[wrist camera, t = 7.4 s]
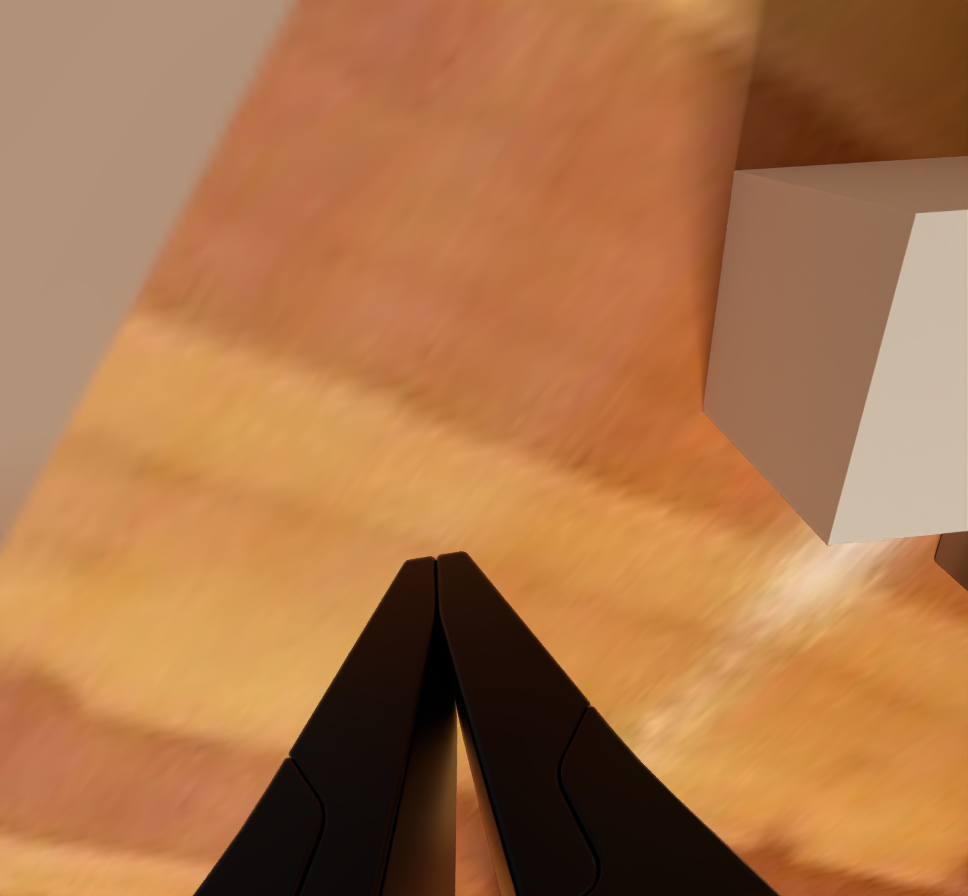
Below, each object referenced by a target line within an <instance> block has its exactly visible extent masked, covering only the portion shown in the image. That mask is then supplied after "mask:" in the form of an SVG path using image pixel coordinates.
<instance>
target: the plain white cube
mask: <svg viewBox="0 0 968 896" xmlns="http://www.w3.org/2000/svg"><path fill="white" fill-rule="evenodd" d="M703 412H704V413H705V414H706V416H707V417H708V418H709V419H710V420H711V421H712V422H713V423H714V424H715V425H716V426H717V427H718V428H719V430H720V431H721V432H722V433H723V434H724V435H725V436H726V437H727V438H728V439H729V440H730V441H731V442H732V444H733V445H734V446H735V447H736V448H737V449H738V450H739V451H740V452H741V453H742V454H743V455H744V456H745V458H746V459H747V460H748V461H749V462H750V463H751V464H752V465H753V466H754V467H755V468H756V469H757V470H758V471H759V473H760V474H761V475H762V476H763V477H764V478H765V479H766V480H767V481H768V482H769V483H770V484H771V485H772V487H773V488H774V489H775V490H776V491H777V492H778V493H779V494H780V495H781V496H782V497H783V498H784V499H785V501H786V502H787V503H788V504H789V505H790V506H791V507H792V508H793V509H794V510H795V511H796V512H797V513H798V514H799V516H800V517H801V518H802V519H803V520H804V521H805V522H806V523H807V524H808V525H809V526H810V527H811V528H812V530H813V531H814V532H815V533H816V534H817V535H818V536H819V537H820V538H821V539H822V540H823V541H824V542H825V544H826V545H827V546H829V545H839V544H848V543H858V542H867V541H876V540H886V539H895V538H905V537H914V536H924V535H933V534H943V533H952V532H961V531H968V156H956V157H940V158H924V159H908V160H892V161H877V162H861V163H845V164H829V165H813V166H797V167H781V168H766V169H750V170H734V177H733V184H732V192H731V199H730V207H729V214H728V222H727V230H726V237H725V245H724V252H723V260H722V267H721V275H720V282H719V290H718V298H717V305H716V313H715V320H714V328H713V335H712V343H711V351H710V358H709V366H708V373H707V381H706V388H705V396H704V403H703Z"/></svg>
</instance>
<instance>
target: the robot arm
mask: <svg viewBox="0 0 968 896" xmlns="http://www.w3.org/2000/svg"><path fill="white" fill-rule="evenodd" d="M456 707H457V711H456ZM457 712H458V717H459V722H460V726H461V731H462V736H463V740H464V744H465V748H466V752H467V756H468V761H469V765H470V769H471V773H472V777H473V781H474V785H475V790H476V794H477V798H478V802H479V806H480V810H481V814H482V819H483V823H484V827H485V831H486V835H487V839H488V843H489V848H490V852H491V856H492V860H493V864H494V868H495V872H496V877H497V881H498V885H499V889H500V893H501V896H781V895H780V894H779V893H778V892H776V891H775V890H774V889H773V888H772V887H771V886H770V885H769V884H768V883H767V882H766V881H765V880H764V879H763V878H762V877H760V876H759V875H758V874H757V873H756V872H755V871H754V870H753V869H752V868H751V867H750V866H749V865H748V864H747V863H746V862H745V861H744V860H742V859H741V858H740V857H739V856H738V855H737V854H736V853H735V852H734V851H733V850H732V849H731V848H730V847H729V846H728V845H727V844H726V843H725V842H723V841H722V840H721V839H720V838H719V837H718V836H717V835H716V834H715V833H714V832H713V831H712V830H711V829H710V828H709V827H708V826H707V825H705V824H704V823H703V822H702V821H701V820H700V819H699V818H698V817H697V816H696V815H695V814H694V813H693V812H692V811H691V810H690V809H689V808H688V807H686V806H685V805H684V804H683V803H682V802H681V801H680V800H679V799H678V798H677V797H676V796H675V795H674V794H673V793H672V792H671V791H670V790H669V789H668V788H667V787H666V786H665V785H664V784H663V783H662V782H661V781H660V780H659V779H658V778H657V777H656V776H655V775H654V774H653V773H652V772H651V771H650V770H649V769H648V768H647V767H646V766H645V765H644V764H643V763H642V762H641V761H640V760H639V759H638V758H637V756H636V755H635V754H634V753H633V752H632V751H631V750H630V749H629V747H628V746H627V745H626V744H625V743H624V742H623V741H622V739H621V738H620V737H619V736H618V735H617V734H616V733H615V732H614V730H613V729H612V728H611V727H610V726H609V724H608V723H607V722H606V721H605V720H604V718H603V717H602V716H601V715H600V713H599V712H598V711H597V710H596V709H595V708H594V707H592V706H591V705H590V702H589V701H588V699H587V698H586V697H585V696H584V695H583V693H582V692H581V691H580V690H579V688H578V687H577V686H576V685H575V684H574V682H573V681H572V680H571V679H570V677H569V676H568V675H567V674H566V673H565V671H564V670H563V669H562V668H561V667H560V665H559V664H558V663H557V662H556V660H555V659H554V658H553V657H552V656H551V654H550V653H549V652H548V651H547V650H546V648H545V647H544V646H543V645H542V643H541V642H540V641H539V640H538V639H537V637H536V636H535V635H534V634H533V633H532V631H531V630H530V629H529V628H528V626H527V625H526V624H525V623H524V622H523V620H522V619H521V618H520V617H519V616H518V614H517V613H516V612H515V611H514V609H513V608H512V607H511V606H510V605H509V603H508V602H507V601H506V600H505V598H504V597H503V596H502V595H501V594H500V592H499V591H498V590H497V589H496V588H495V586H494V585H493V584H492V583H491V581H490V580H489V579H488V578H487V577H486V575H485V574H484V573H483V572H482V571H481V569H480V568H479V567H478V566H477V564H476V563H475V562H474V561H473V560H472V558H471V557H470V556H469V555H468V554H467V553H466V552H464V551H460V552H454V553H448V554H441V555H439V556H438V557H437V559H435V558H434V557H432V556H429V557H422V558H416V559H410V560H407V561H406V562H404V564H403V565H402V567H401V569H400V570H399V572H398V574H397V575H396V577H395V579H394V580H393V582H392V584H391V585H390V587H389V589H388V590H387V592H386V593H385V595H384V597H383V598H382V600H381V602H380V603H379V605H378V607H377V608H376V610H375V612H374V613H373V615H372V617H371V618H370V620H369V621H368V623H367V625H366V626H365V628H364V630H363V631H362V633H361V635H360V636H359V638H358V640H357V641H356V643H355V645H354V646H353V648H352V650H351V651H350V653H349V654H348V656H347V658H346V659H345V661H344V663H343V664H342V666H341V668H340V669H339V671H338V673H337V674H336V676H335V678H334V679H333V681H332V683H331V684H330V686H329V687H328V689H327V691H326V692H325V694H324V696H323V697H322V699H321V701H320V702H319V704H318V706H317V707H316V709H315V711H314V712H313V714H312V716H311V717H310V719H309V720H308V722H307V724H306V725H305V727H304V729H303V730H302V732H301V734H300V735H299V737H298V739H297V740H296V742H295V744H294V745H293V747H292V749H291V750H290V752H289V757H290V758H286V759H285V760H284V761H283V763H282V764H281V766H280V768H279V769H278V771H277V773H276V774H275V776H274V778H273V779H272V781H271V783H270V784H269V786H268V787H267V789H266V791H265V792H264V794H263V795H262V797H261V798H260V800H259V801H258V803H257V805H256V806H255V808H254V809H253V811H252V812H251V814H250V815H249V817H248V819H247V820H246V822H245V823H244V825H243V826H242V828H241V829H240V831H239V832H238V834H237V835H236V836H235V838H234V839H233V841H232V842H231V843H230V845H229V846H228V848H227V849H226V851H225V852H224V853H223V855H222V856H221V858H220V859H219V860H218V862H217V863H216V865H215V866H214V867H213V869H212V870H211V872H210V873H209V874H208V876H207V877H206V879H205V880H204V881H203V883H202V884H201V885H200V887H199V888H198V889H197V891H196V892H195V893H194V895H193V896H455V860H456V789H457Z"/></svg>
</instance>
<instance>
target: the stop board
mask: <svg viewBox="0 0 968 896" xmlns="http://www.w3.org/2000/svg"><path fill="white" fill-rule="evenodd" d="M935 562H936V563H937V564H938V565H939V566H940V567H941V568H942V569H944V570H945V571H946V572H947V573H948V574H949V575H950V576H952V577H953V578H954V579H955V580H956V581H957V582H958V583H959V584H961V585H962V586H963V587H964V588H965V589H966V590H967V591H968V531H961V532H952V533H943V534H942V537H941V540H940V544H939V547H938V551H937V554H936V557H935Z"/></svg>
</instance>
